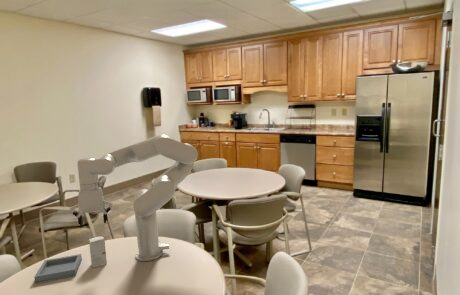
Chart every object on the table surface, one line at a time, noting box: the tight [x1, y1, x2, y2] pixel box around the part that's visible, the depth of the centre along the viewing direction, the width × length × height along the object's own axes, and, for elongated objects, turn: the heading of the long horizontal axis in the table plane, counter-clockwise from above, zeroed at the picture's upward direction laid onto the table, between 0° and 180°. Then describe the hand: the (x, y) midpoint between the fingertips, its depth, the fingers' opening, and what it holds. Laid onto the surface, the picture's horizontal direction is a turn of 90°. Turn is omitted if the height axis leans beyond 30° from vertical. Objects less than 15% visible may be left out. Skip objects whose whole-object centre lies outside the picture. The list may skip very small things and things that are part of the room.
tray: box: [33, 253, 83, 285], centre depth 131 cm, size 15×14×3 cm
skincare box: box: [88, 235, 108, 268], centre depth 135 cm, size 6×4×12 cm
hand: (93, 223), depth 133 cm, fingers open, 9 cm apart
